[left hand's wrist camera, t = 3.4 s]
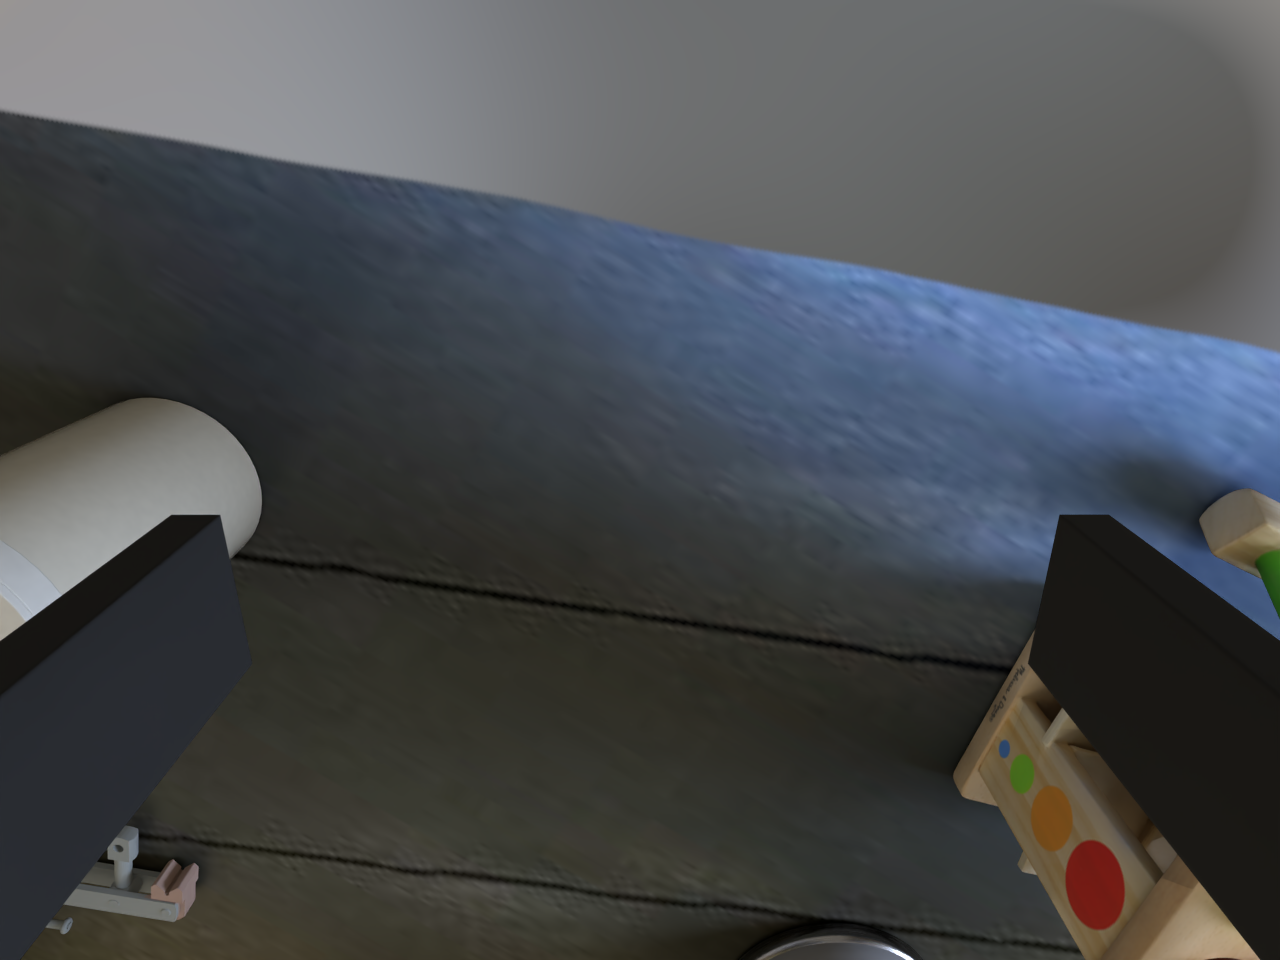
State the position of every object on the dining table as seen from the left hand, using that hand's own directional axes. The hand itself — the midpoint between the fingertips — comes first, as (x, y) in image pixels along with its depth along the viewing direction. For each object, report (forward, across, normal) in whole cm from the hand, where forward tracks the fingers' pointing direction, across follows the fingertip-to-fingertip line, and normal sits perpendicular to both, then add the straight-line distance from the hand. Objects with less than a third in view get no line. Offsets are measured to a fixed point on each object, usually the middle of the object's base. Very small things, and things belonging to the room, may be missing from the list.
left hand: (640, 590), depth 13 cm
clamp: (+28, +37, +36) cm, 59 cm away
